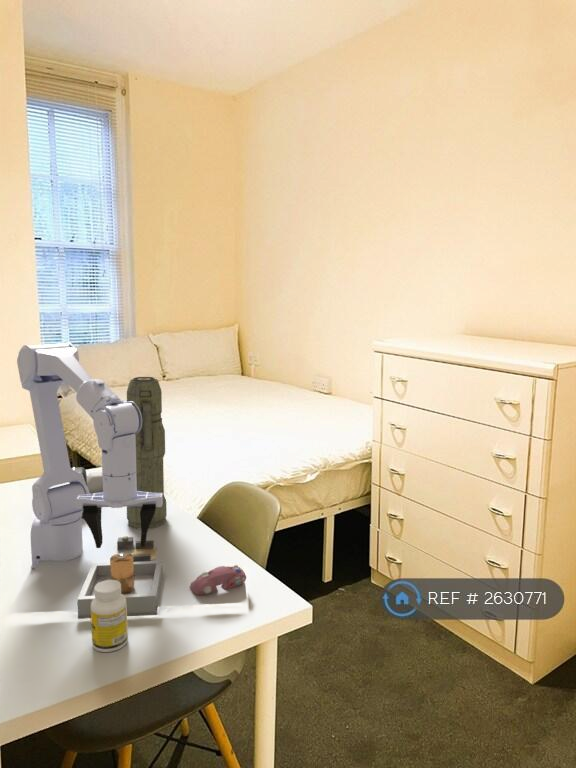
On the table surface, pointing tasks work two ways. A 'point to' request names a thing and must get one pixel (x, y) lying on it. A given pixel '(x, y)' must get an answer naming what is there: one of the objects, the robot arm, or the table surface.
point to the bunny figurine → (95, 482)
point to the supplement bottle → (109, 617)
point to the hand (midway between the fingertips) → (121, 544)
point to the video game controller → (218, 579)
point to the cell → (123, 571)
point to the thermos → (148, 447)
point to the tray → (135, 602)
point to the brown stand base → (137, 549)
